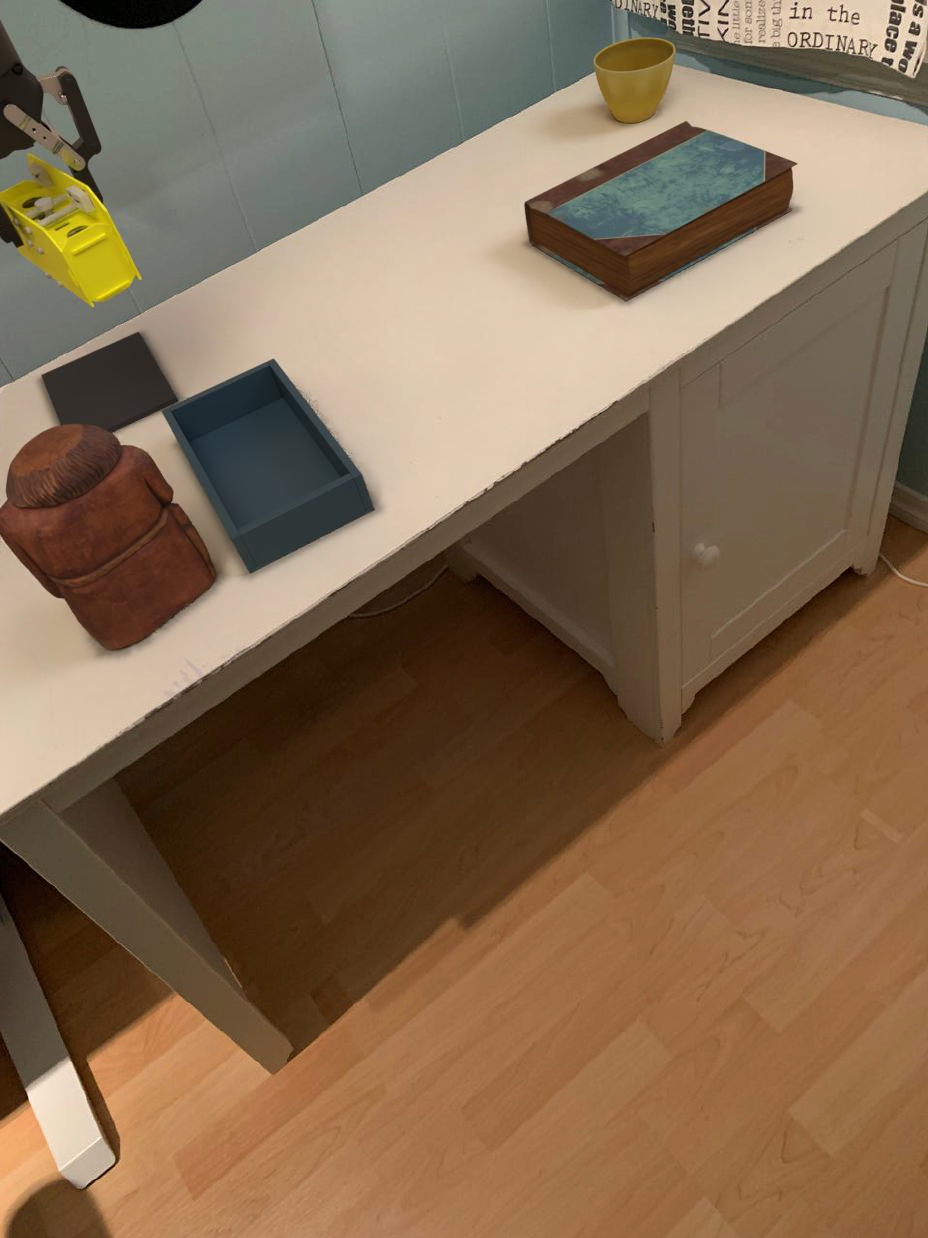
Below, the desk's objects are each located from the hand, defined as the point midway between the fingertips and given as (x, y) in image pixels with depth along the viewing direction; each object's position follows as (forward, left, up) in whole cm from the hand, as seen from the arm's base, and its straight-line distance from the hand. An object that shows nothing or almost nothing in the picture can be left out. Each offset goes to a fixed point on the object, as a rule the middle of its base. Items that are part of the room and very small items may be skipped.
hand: (57, 226), depth 76 cm
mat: (-4, +9, -21) cm, 23 cm away
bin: (+6, -17, -21) cm, 27 cm away
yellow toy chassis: (0, 0, -5) cm, 5 cm away
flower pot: (+72, +17, -21) cm, 77 cm away
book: (+57, -8, -21) cm, 61 cm away
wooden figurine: (-8, -26, -21) cm, 34 cm away
